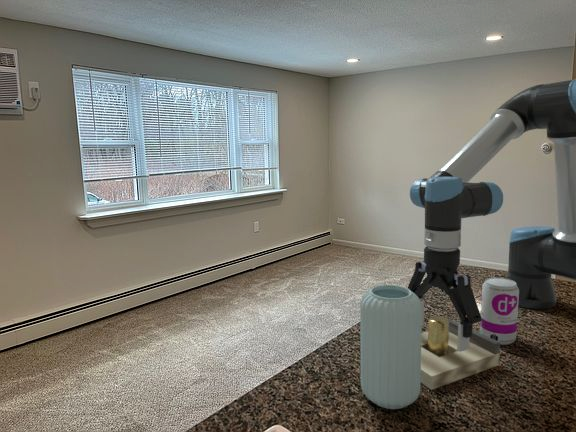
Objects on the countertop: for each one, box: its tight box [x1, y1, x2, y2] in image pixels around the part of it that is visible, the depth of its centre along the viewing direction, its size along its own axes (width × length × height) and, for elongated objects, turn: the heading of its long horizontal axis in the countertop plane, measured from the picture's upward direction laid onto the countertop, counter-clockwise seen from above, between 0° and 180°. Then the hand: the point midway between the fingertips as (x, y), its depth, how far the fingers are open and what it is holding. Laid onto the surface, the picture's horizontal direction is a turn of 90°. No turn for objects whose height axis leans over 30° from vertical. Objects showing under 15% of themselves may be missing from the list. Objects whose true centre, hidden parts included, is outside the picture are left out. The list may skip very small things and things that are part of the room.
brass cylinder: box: [427, 315, 449, 357], centre depth 96 cm, size 4×4×10 cm
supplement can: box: [479, 277, 519, 346], centre depth 106 cm, size 8×8×15 cm
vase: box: [359, 284, 423, 410], centre depth 82 cm, size 12×12×22 cm
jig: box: [420, 316, 501, 391], centre depth 97 cm, size 20×16×6 cm
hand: (439, 337), depth 96 cm, fingers open, 13 cm apart
